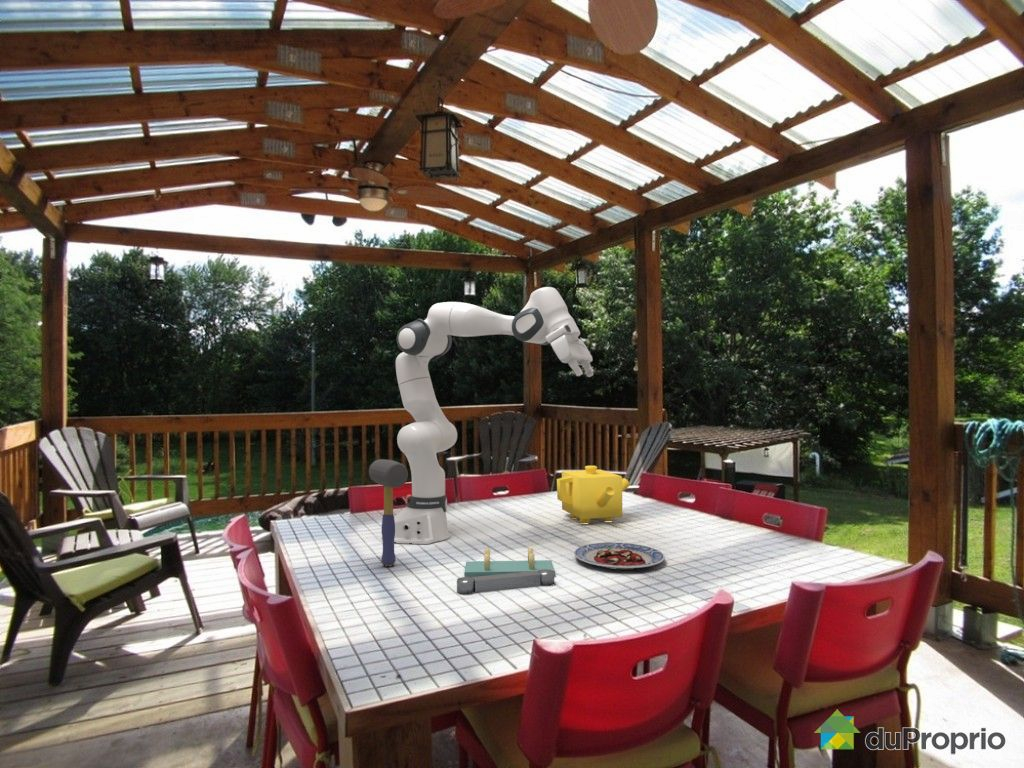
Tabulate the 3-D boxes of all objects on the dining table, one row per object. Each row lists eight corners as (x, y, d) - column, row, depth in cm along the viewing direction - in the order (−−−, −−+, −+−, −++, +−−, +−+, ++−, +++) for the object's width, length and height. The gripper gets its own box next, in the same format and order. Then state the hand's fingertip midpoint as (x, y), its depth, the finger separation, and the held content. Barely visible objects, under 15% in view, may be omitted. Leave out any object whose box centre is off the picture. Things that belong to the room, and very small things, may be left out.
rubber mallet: (410, 568, 171) (410, 460, 171) (386, 573, 167) (385, 463, 167) (390, 558, 181) (390, 456, 181) (367, 563, 177) (366, 458, 177)
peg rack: (464, 577, 163) (464, 557, 163) (466, 566, 173) (466, 547, 173) (554, 576, 164) (554, 555, 164) (551, 565, 174) (551, 546, 174)
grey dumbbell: (458, 595, 149) (458, 583, 149) (455, 589, 154) (455, 577, 154) (556, 585, 157) (556, 573, 157) (550, 580, 161) (550, 568, 161)
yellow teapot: (652, 526, 221) (652, 470, 221) (576, 532, 212) (576, 474, 212) (609, 507, 254) (609, 459, 254) (542, 512, 246) (542, 461, 246)
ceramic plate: (680, 572, 168) (680, 561, 168) (588, 577, 163) (588, 566, 163) (644, 547, 193) (644, 538, 193) (564, 551, 189) (564, 541, 189)
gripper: (568, 342, 194) (587, 381, 191) (543, 337, 175) (564, 379, 172) (585, 332, 192) (605, 371, 188) (561, 326, 173) (583, 369, 170)
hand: (585, 375), depth 180 cm, fingers open, 8 cm apart
